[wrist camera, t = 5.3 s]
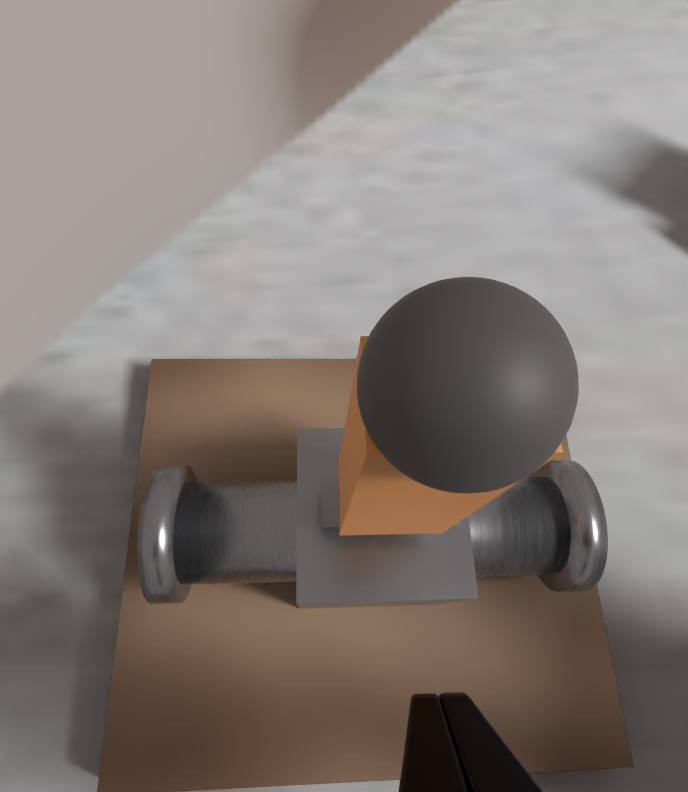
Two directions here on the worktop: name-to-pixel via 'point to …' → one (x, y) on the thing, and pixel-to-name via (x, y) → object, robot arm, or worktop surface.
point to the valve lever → (449, 408)
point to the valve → (361, 537)
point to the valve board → (326, 629)
